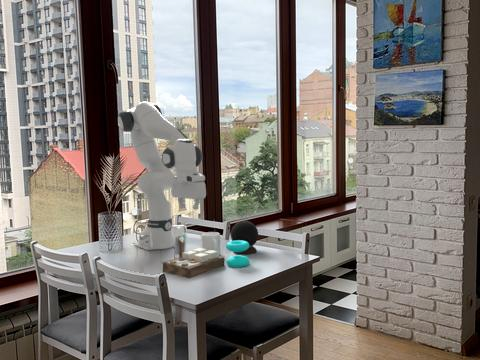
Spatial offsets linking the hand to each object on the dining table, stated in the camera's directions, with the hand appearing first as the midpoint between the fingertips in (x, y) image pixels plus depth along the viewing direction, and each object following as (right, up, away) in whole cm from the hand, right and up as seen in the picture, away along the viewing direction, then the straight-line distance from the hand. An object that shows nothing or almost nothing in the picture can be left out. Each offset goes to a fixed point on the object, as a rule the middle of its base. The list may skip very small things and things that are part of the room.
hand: (189, 208), depth 216 cm
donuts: (+21, -25, +2) cm, 33 cm away
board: (+2, -26, -2) cm, 26 cm away
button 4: (+9, -23, 0) cm, 24 cm away
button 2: (+6, -23, -4) cm, 24 cm away
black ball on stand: (+24, -22, +24) cm, 41 cm away
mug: (+9, -23, +17) cm, 31 cm away
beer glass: (-6, -24, +15) cm, 29 cm away
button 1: (0, -23, 0) cm, 23 cm away
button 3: (+4, -22, +5) cm, 23 cm away
